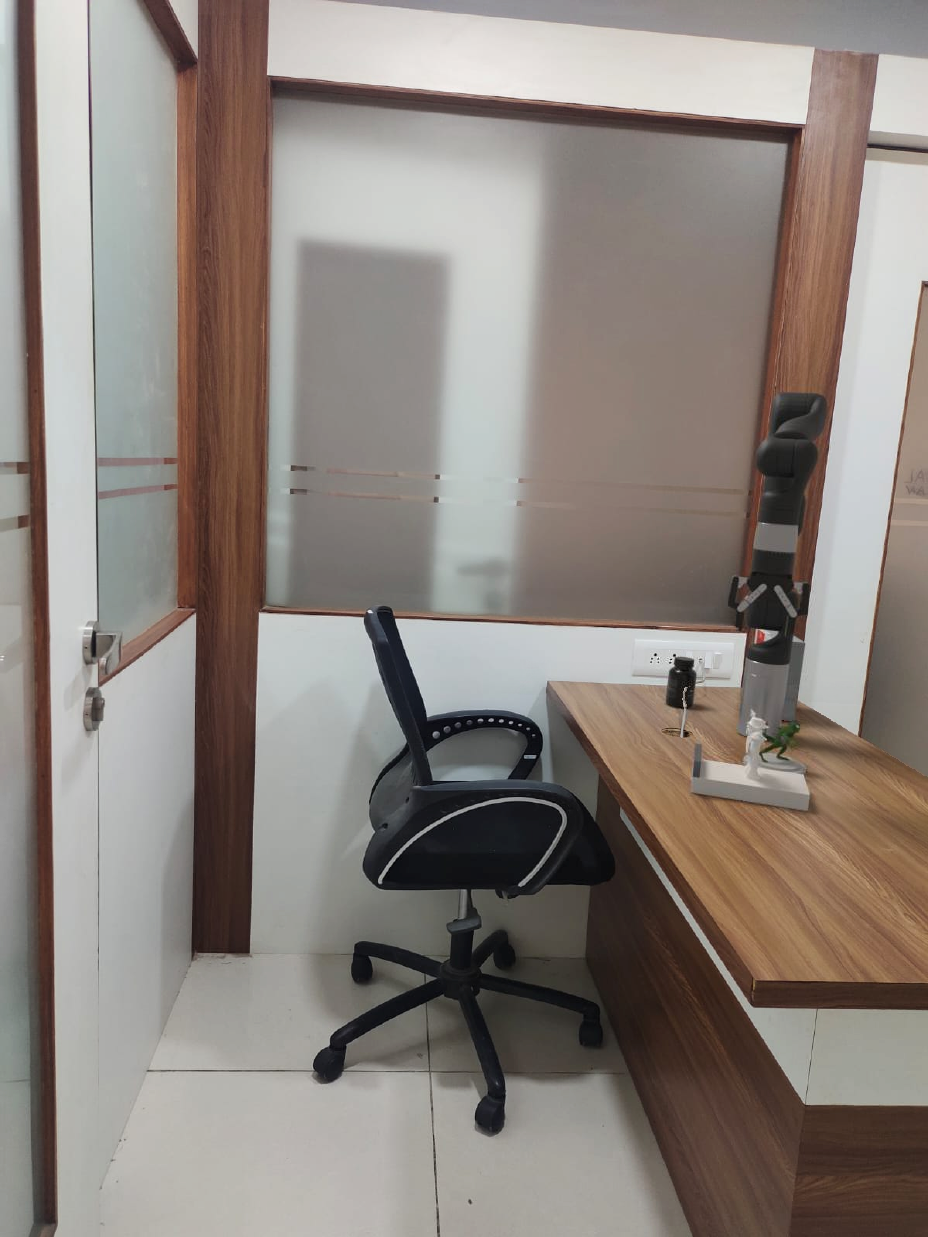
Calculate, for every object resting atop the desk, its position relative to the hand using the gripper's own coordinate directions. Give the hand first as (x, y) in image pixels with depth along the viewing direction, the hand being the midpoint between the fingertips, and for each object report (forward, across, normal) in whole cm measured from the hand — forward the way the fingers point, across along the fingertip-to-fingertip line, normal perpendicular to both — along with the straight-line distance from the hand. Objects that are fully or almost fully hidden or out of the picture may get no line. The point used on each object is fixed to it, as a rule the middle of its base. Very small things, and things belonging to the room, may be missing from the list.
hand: (763, 633), depth 164 cm
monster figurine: (+28, +6, +8) cm, 30 cm away
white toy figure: (+25, 0, -10) cm, 27 cm away
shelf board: (+28, 0, -10) cm, 30 cm away
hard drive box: (+28, +8, +52) cm, 60 cm away
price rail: (+25, -9, -9) cm, 28 cm away
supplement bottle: (+28, -14, +47) cm, 57 cm away
